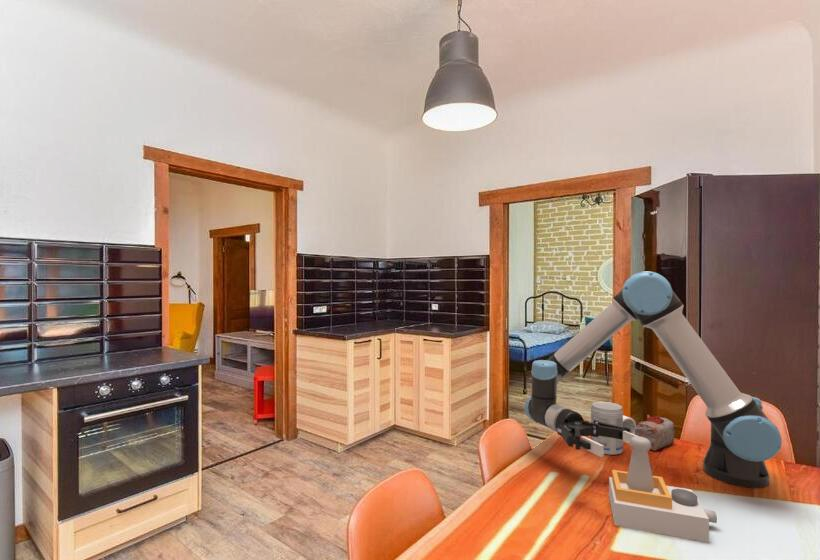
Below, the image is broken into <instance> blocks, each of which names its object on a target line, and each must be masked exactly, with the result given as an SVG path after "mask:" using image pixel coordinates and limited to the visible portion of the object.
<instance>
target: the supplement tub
mask: <svg viewBox="0 0 820 560" xmlns="http://www.w3.org/2000/svg"><path fill="white" fill-rule="evenodd" d="M623 415H624V412H623V406H622V405H620V404H619V403H614V402H610V401H593V402H592V403H591V407H590V422H592V423H593V421H594V420H597V421H600V422H603V423H607V424H611V425H616V426H620V427H623ZM594 433H595V434H596V431H595V430H594ZM590 439H591V440H593V441H595V442H597V443H599V444H601V445H604V453H603V455H610V456H611V455H612V456H614V455H615V456H616V455H620V454H622V453H623V451H624V442H623V440H622V439H616V438H610V437H604V436H598V437H594V436H590Z"/></svg>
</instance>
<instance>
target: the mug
mask: <svg viewBox="0 0 820 560" xmlns="http://www.w3.org/2000/svg"><path fill="white" fill-rule="evenodd" d="M636 426H637V423H636V421H635V420H634V418H632V417H629V416H626V415H625V414H623V427H627V428H629V429H630V433H632V434H635V428H636Z"/></svg>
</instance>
